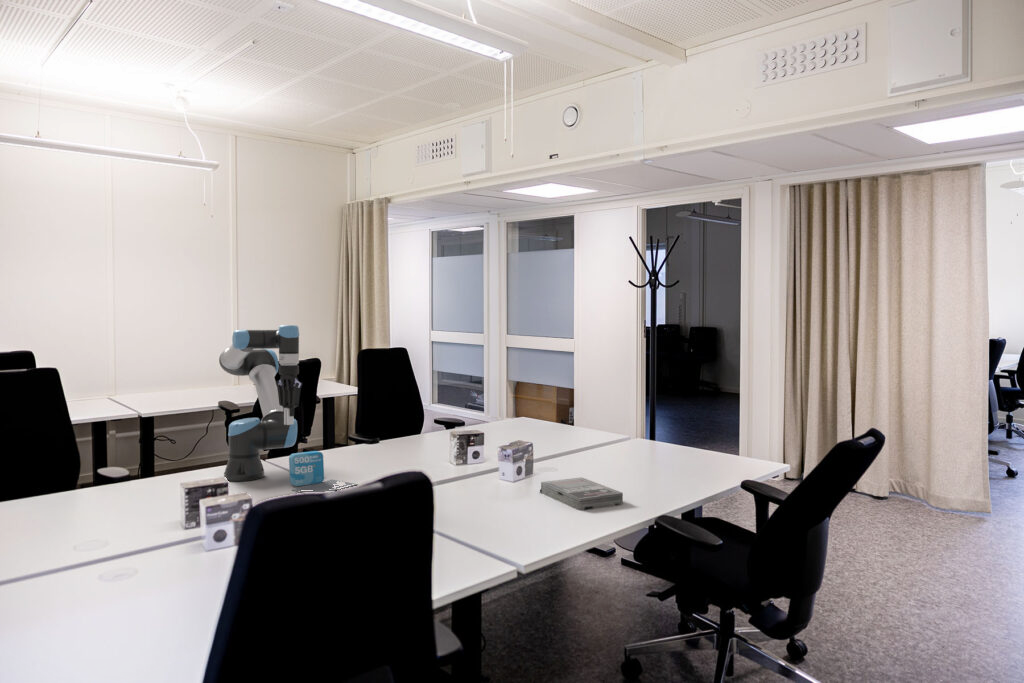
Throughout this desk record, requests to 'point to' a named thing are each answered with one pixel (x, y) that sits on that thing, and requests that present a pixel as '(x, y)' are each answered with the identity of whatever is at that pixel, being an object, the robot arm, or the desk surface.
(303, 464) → the data package
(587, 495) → the grey flat block
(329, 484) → the mat
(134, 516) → the desk surface
